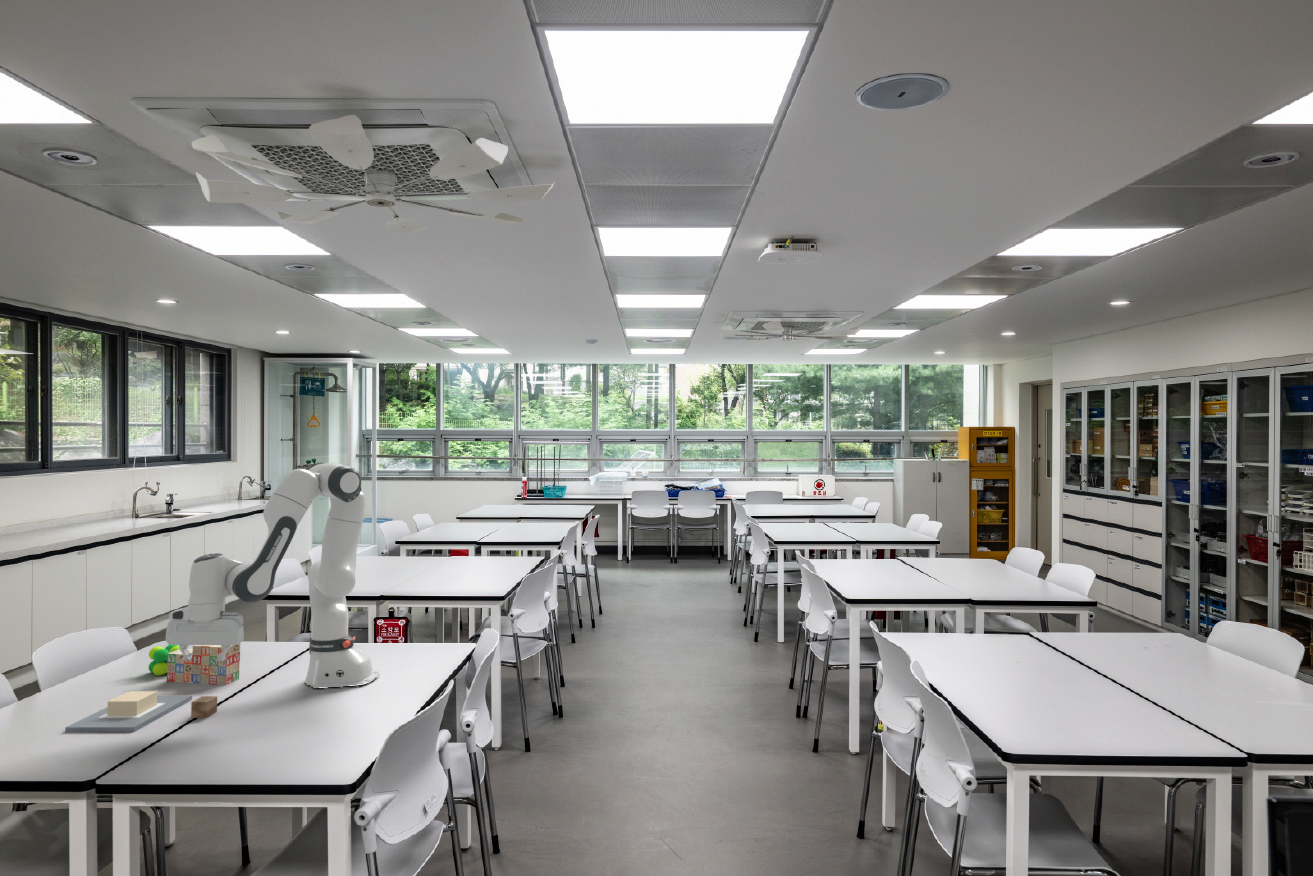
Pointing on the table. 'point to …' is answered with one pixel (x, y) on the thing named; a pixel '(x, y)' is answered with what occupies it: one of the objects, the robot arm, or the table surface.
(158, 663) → the molecule model
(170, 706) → the board
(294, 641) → the table surface
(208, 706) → the walnut cube
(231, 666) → the stack of blocks
